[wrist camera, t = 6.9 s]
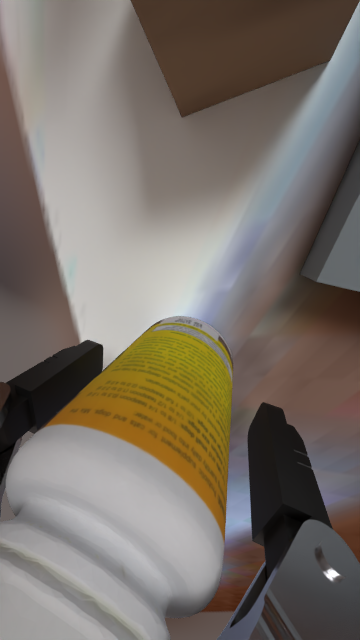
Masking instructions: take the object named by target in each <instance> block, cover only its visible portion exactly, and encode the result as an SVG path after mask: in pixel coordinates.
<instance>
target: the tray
mask: <svg viewBox="0 0 360 640" xmlns="http://www.w3.org/2000/svg"><path fill="white" fill-rule="evenodd" d="M300 275H303V276H305V277H307V278H309V279H311V280H314V281H316V282H320V283H324V284H328V285H333V286H337V287H341V288H346V289H350V290H354V291H359V292H360V141H359V143H358V145H357V147H356V150H355V152H354V154H353V156H352V159H351V161H350V163H349V165H348V167H347V170H346V172H345V174H344V176H343V179H342V181H341V183H340V185H339V188H338V190H337V192H336V194H335V196H334V199H333V201H332V203H331V205H330V208H329V210H328V212H327V214H326V216H325V219H324V221H323V223H322V225H321V228H320V230H319V232H318V234H317V237H316V239H315V241H314V243H313V245H312V248H311V250H310V252H309V254H308V257H307V259H306V261H305V263H304V266H303V268H302V270H301V272H300Z"/></svg>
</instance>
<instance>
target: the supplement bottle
mask: <svg viewBox="0 0 360 640" xmlns="http://www.w3.org/2000/svg"><path fill="white" fill-rule="evenodd" d="M232 382H233V359H232V355H231V351H230V349H229V347H228V345H227V343H226V341H225V340H224V338H223V337H222V336H221V335H220V333H219V332H217V331H216V330H215V329H214V328H213V327H211V326H210V325H208V324H207V323H205V322H203V321H200V320H198V319H195V318H191V317H184V316H175V317H169V318H166V319H163V320H161V321H159V322H157V323H155V324H154V325H152V326H151V327H150V328H149V329H148V330H147V331H146V332H144V333H143V334H142V335H141V336H140V337H139V338H138V339H137V340H136V341H134V342H133V343H132V344H131V345H130V346H129V347H128V348H127V349H126V350H125V351H124V352H122V353H121V354H120V355H119V356H118V357H117V358H116V359H115V360H114V361H113V362H112V363H111V364H110V365H109V366H108V367H106V368H105V369H104V370H103V371H102V372H101V373H100V374H99V375H98V376H97V377H96V378H94V379H93V380H92V381H91V382H90V383H89V384H88V385H87V386H86V387H85V388H84V389H83V390H82V391H80V392H79V393H78V394H77V395H76V396H75V397H74V398H73V399H71V400H70V401H69V402H68V403H67V404H66V405H65V406H64V407H63V408H62V409H61V410H60V411H59V412H58V413H57V414H55V415H54V416H53V417H52V418H51V419H50V420H49V421H47V422H46V423H45V424H44V425H43V426H41V427H40V428H39V430H38V431H37V432H36V433H35V434H34V435H33V436H32V437H31V438H30V439H29V440H28V441H27V442H26V443H25V444H24V445H23V446H22V447H21V448H20V449H19V451H18V452H17V453H16V455H15V456H14V458H13V459H12V462H11V464H10V466H9V469H8V472H7V477H6V494H7V498H8V502H9V505H10V507H11V509H12V511H13V513H14V515H15V516H16V517H15V518H14V519H12V520H8V521H2V522H0V640H171V639H170V634H169V632H168V629H167V626H166V623H165V617H168V618H183V617H190V616H192V615H194V614H197V613H199V612H200V611H201V610H203V609H204V608H205V607H206V606H207V605H208V604H209V603H210V601H211V600H212V599H213V597H214V595H215V593H216V591H217V589H218V586H219V583H220V579H221V574H222V567H223V554H224V540H225V523H226V502H227V480H228V461H229V440H230V423H231V403H232Z"/></svg>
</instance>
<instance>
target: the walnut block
mask: <svg viewBox="0 0 360 640" xmlns="http://www.w3.org/2000/svg"><path fill="white" fill-rule="evenodd" d="M359 1H360V0H131V2H132V4H133V7H134V9H135V11H136V13H137V16H138V18H139V20H140V23H141V25H142V27H143V29H144V32H145V34H146V36H147V39H148V41H149V43H150V45H151V48H152V50H153V52H154V55H155V57H156V59H157V61H158V64H159V66H160V68H161V71H162V73H163V75H164V77H165V80H166V82H167V84H168V87H169V89H170V91H171V93H172V96H173V98H174V100H175V103H176V105H177V107H178V109H179V112H180V114H181V116H182V117H184V116H187V115H189V114H192V113H194V112H197V111H200V110H202V109H205V108H207V107H210V106H213V105H215V104H218V103H220V102H223V101H226V100H228V99H231V98H233V97H236V96H239V95H241V94H244V93H246V92H249V91H252V90H254V89H257V88H259V87H262V86H265V85H267V84H270V83H272V82H275V81H278V80H280V79H283V78H285V77H288V76H291V75H293V74H296V73H298V72H301V71H304V70H306V69H309V68H311V67H314V66H317V65H319V64H322V63H324V62H327V61H330V59H331V57H332V55H333V53H334V51H335V49H336V47H337V45H338V43H339V41H340V39H341V37H342V35H343V33H344V31H345V29H346V27H347V25H348V23H349V21H350V19H351V17H352V15H353V13H354V11H355V9H356V7H357V5H358V3H359Z"/></svg>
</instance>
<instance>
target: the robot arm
mask: <svg viewBox="0 0 360 640" xmlns="http://www.w3.org/2000/svg"><path fill="white" fill-rule="evenodd" d="M102 369H103V346H102V345H101V344H99V343H96V342H93V341H90V340H86V341H84V342H82V343H81V344H79V345H77V346H73V347H70V348H66V349H63V350H61V351H59V352H58V353H56V354H54V355H53V356H52V357H49V358H47V359H46V360H44V362H41V363H39V364H37V365H36V366H34V367H32V368H31V369H29V370H27V371H25V372H24V373H22V374H20V375H19V376H17V377H15V378H13V379H12V380H10V381H8V382H7V383H4V382H0V516H1V502H2V497H3V494H4V491H5V488H6V477H7V472H8V469H9V466H10V464H11V462H12V459H13V458H14V456H15V455H16V453H17V452H18V450H19V447H20V444H21V441H22V436H23V435H24V434H25V433H26V432H27V431H30V432H32V433H34V434H35V433H36V432H37V431H38V430H39V428H40V427H41V426H43V425H44V424H45V423H46V422H47V421H49V420H50V419H51V418H52V417H53V416H54V415H55V414H57V413H58V412H59V411H60V410H61V409H62V408H63V407H64V406H65V405H66V404H67V403H68V402H69V401H70V400H71V399H73V398H74V397H75V396H76V395H77V394H78V393H79V392H80V391H82V390H83V389H84V388H85V387H86V386H87V385H88V384H89V383H90V382H91V381H92V380H93V379H94V378H96V377H97V376H98V375H99V374H100V373H101V372H102ZM248 459H249V480H250V501H251V522H252V541H254V542H256V543H258V544H260V545H262V546H264V548H265V560H266V561H265V563H264V564H263V565H262V567H261V569H260V570H259V572H258V574H257V575H256V577H255V579H254V580H253V582H252V584H251V586H250V587H249V589H248V591H247V592H246V594H245V596H244V597H243V599H242V601H241V602H240V604H239V606H238V607H237V609H236V611H235V612H234V614H233V616H232V618H231V619H230V621H229V622H228V624H227V626H226V627H225V629H224V630H223V632H222V633H221V635H220V636H219V637H218V638H217V640H360V564H359V562H358V561H357V559H356V557H355V555H354V554H353V552H352V551H351V549H350V548H349V547H348V545H347V544H346V543H345V542H344V540H343V539H342V538H341V537H340V536H339V535H338V534H337V533H336V532H335V531H334V530H333V528H332V526H331V523H330V520H329V517H328V514H327V511H326V508H325V505H324V502H323V499H322V496H321V493H320V490H319V487H318V484H317V481H316V478H315V475H314V472H313V470H312V469H311V467H312V466H311V463H310V460H309V457H307V451H306V448H305V445H304V442H303V440H302V438H301V437H300V435H299V434H298V432H297V431H296V429H295V428H294V426H291V425H289V424H287V422H286V418H285V415H284V411H283V409H281V408H279V407H276V406H273V405H270V404H267V403H265V402H263V403H262V404H261V405H260V407H259V409H258V411H257V413H256V415H255V417H254V419H253V421H252V423H251V425H250V428H249V432H248Z"/></svg>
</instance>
